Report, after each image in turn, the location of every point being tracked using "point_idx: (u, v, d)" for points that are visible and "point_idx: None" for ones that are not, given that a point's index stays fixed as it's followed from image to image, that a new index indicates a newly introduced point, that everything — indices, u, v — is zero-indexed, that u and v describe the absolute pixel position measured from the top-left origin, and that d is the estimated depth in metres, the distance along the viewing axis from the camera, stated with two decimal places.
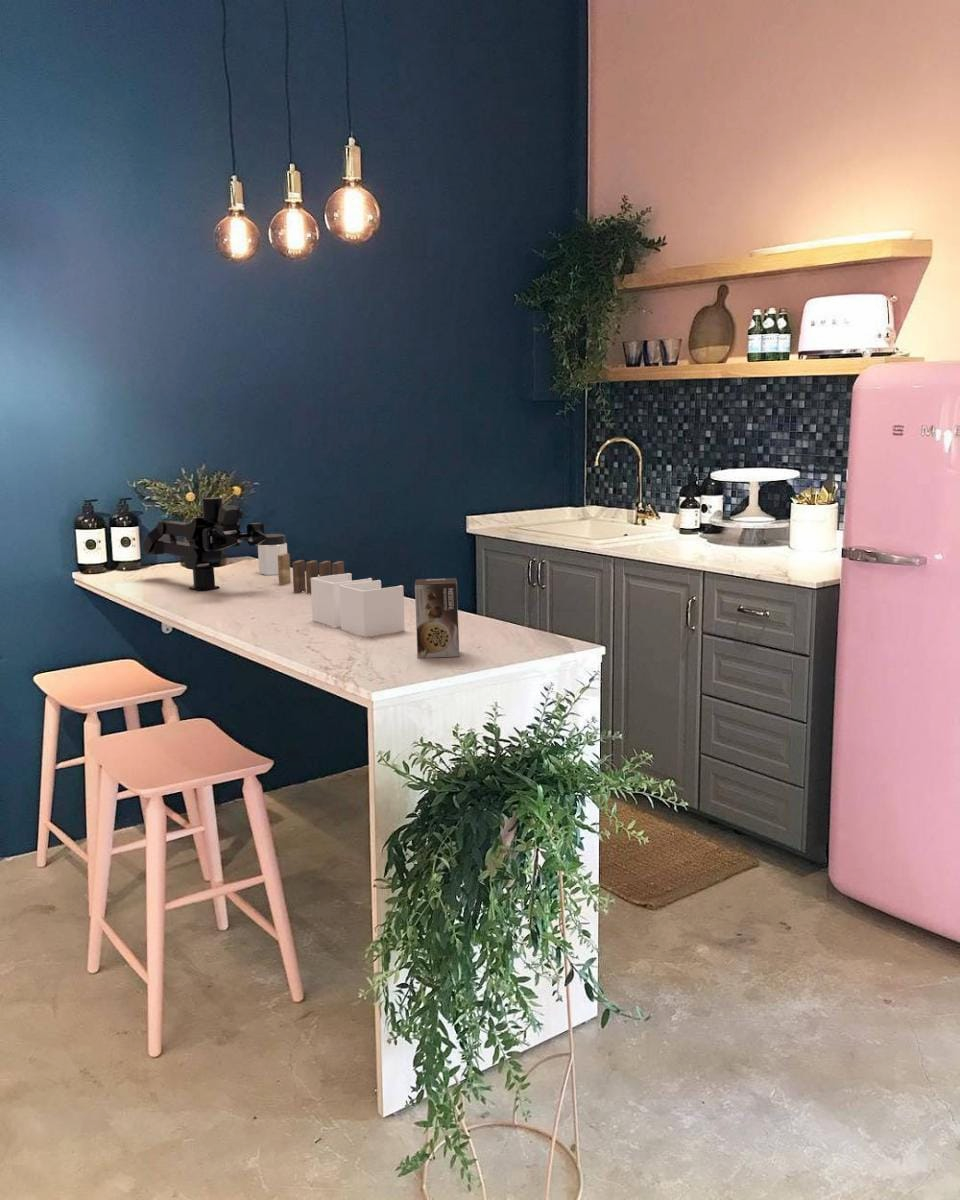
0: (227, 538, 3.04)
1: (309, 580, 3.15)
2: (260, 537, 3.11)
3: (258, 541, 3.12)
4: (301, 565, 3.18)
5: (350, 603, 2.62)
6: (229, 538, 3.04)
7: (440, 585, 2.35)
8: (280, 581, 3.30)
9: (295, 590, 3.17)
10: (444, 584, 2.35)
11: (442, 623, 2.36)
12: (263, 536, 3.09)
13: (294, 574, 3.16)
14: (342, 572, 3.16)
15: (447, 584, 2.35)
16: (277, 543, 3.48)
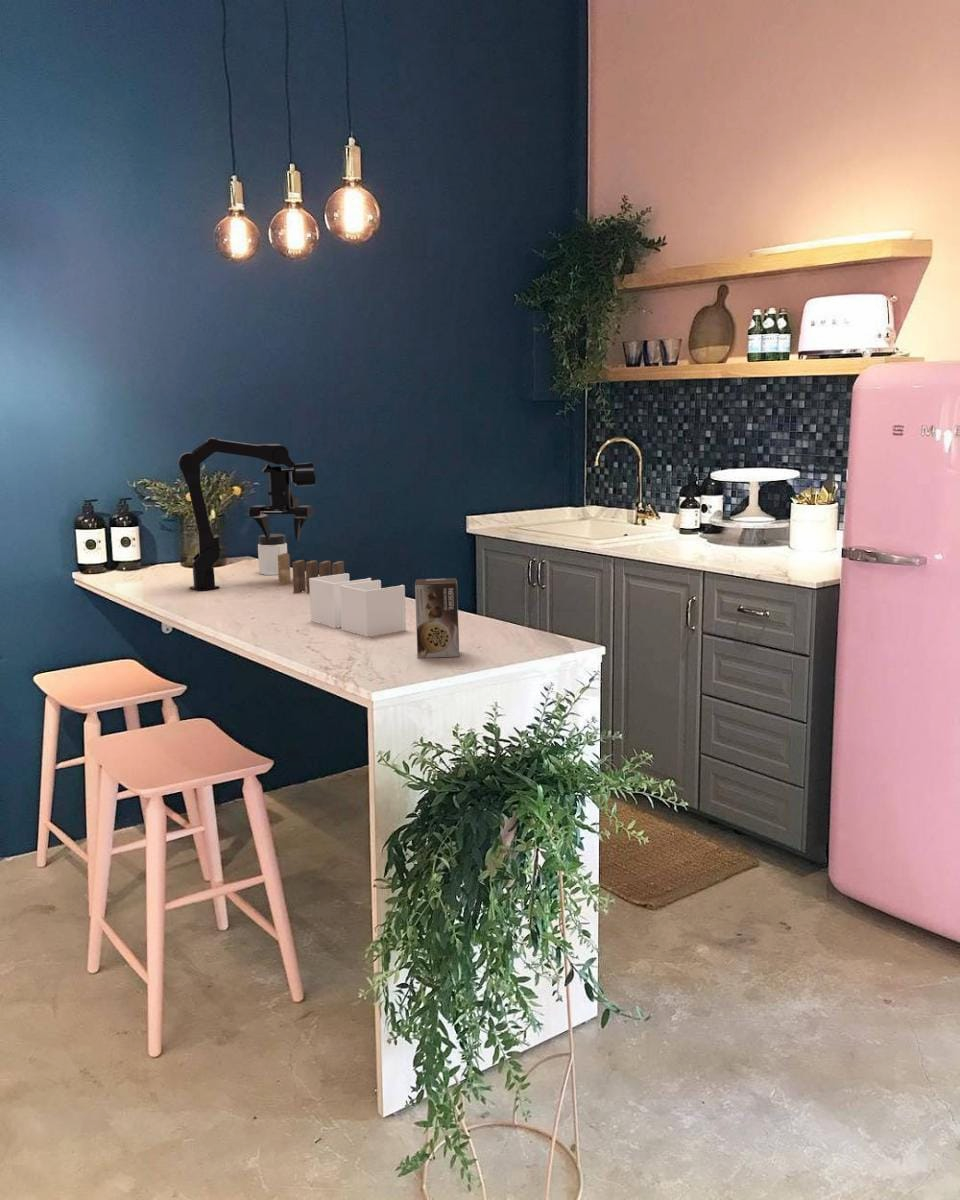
0: (300, 530, 3.29)
1: None
2: (268, 532, 3.31)
3: (265, 528, 3.29)
4: (301, 565, 3.18)
5: (352, 603, 2.62)
6: (300, 532, 3.29)
7: (440, 585, 2.35)
8: (280, 581, 3.30)
9: (295, 590, 3.17)
10: (444, 584, 2.35)
11: (442, 623, 2.36)
12: (269, 537, 3.32)
13: (294, 574, 3.16)
14: (342, 572, 3.16)
15: (447, 584, 2.35)
16: (276, 543, 3.48)
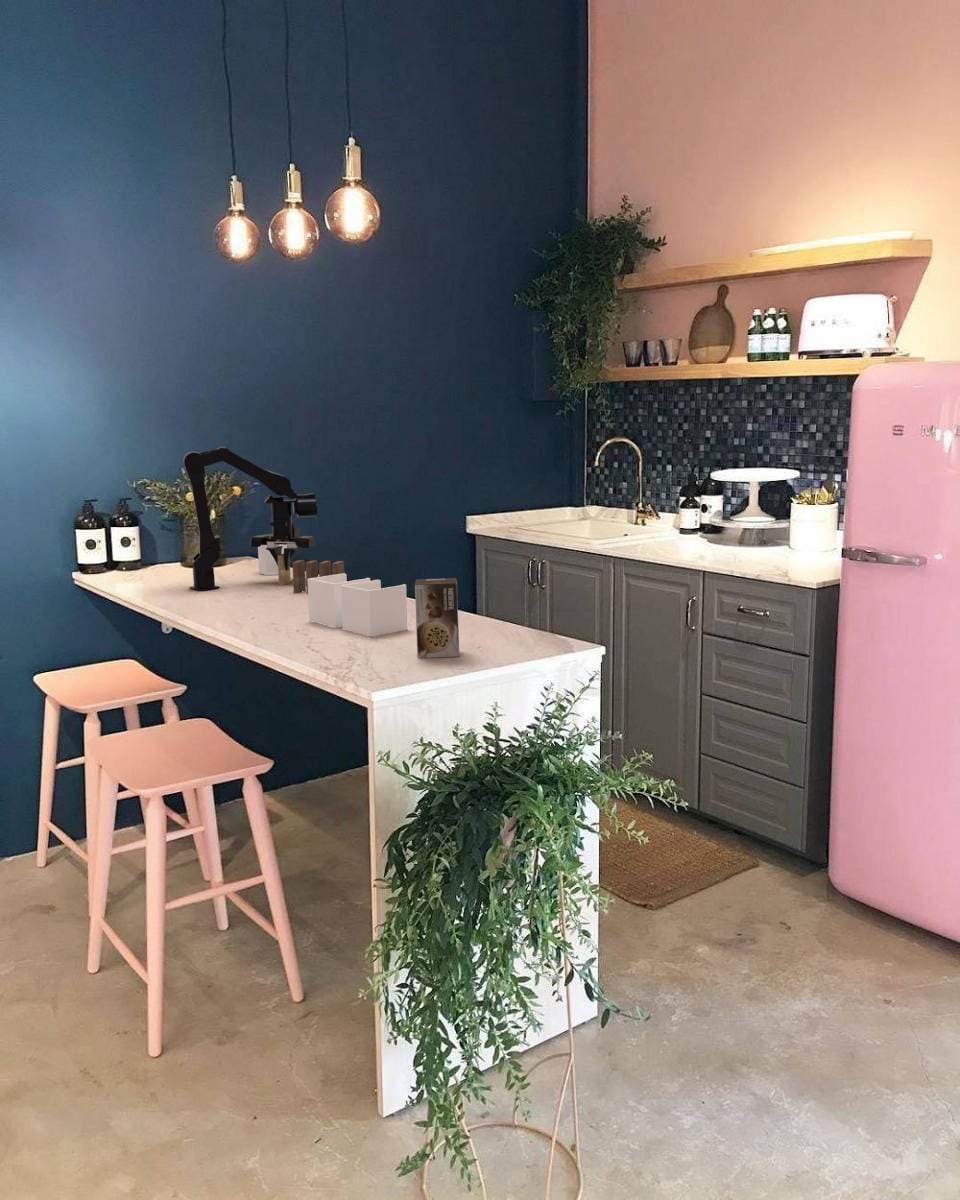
0: (290, 560, 3.32)
1: None
2: None
3: None
4: (301, 565, 3.18)
5: (354, 603, 2.62)
6: (290, 562, 3.32)
7: (440, 585, 2.35)
8: (280, 581, 3.30)
9: (295, 590, 3.17)
10: (444, 584, 2.35)
11: (442, 623, 2.36)
12: None
13: (294, 574, 3.16)
14: (342, 572, 3.16)
15: (447, 584, 2.35)
16: None
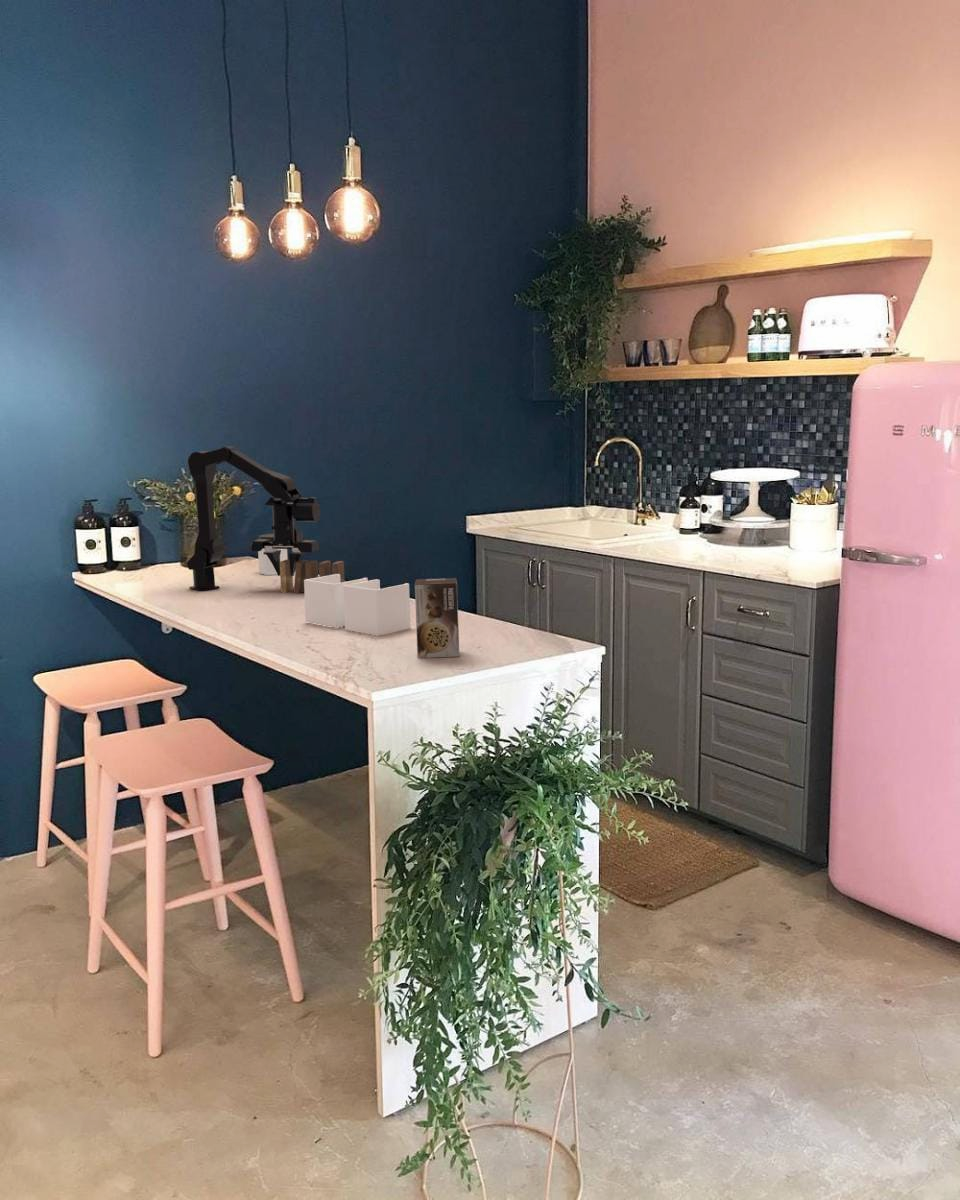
0: None
1: None
2: (279, 567, 3.19)
3: (276, 564, 3.18)
4: (304, 565, 3.17)
5: (359, 603, 2.62)
6: (295, 567, 3.18)
7: (440, 585, 2.35)
8: (282, 588, 3.18)
9: (295, 590, 3.16)
10: (444, 584, 2.35)
11: (442, 623, 2.36)
12: None
13: (296, 574, 3.15)
14: (342, 572, 3.16)
15: (447, 584, 2.35)
16: None
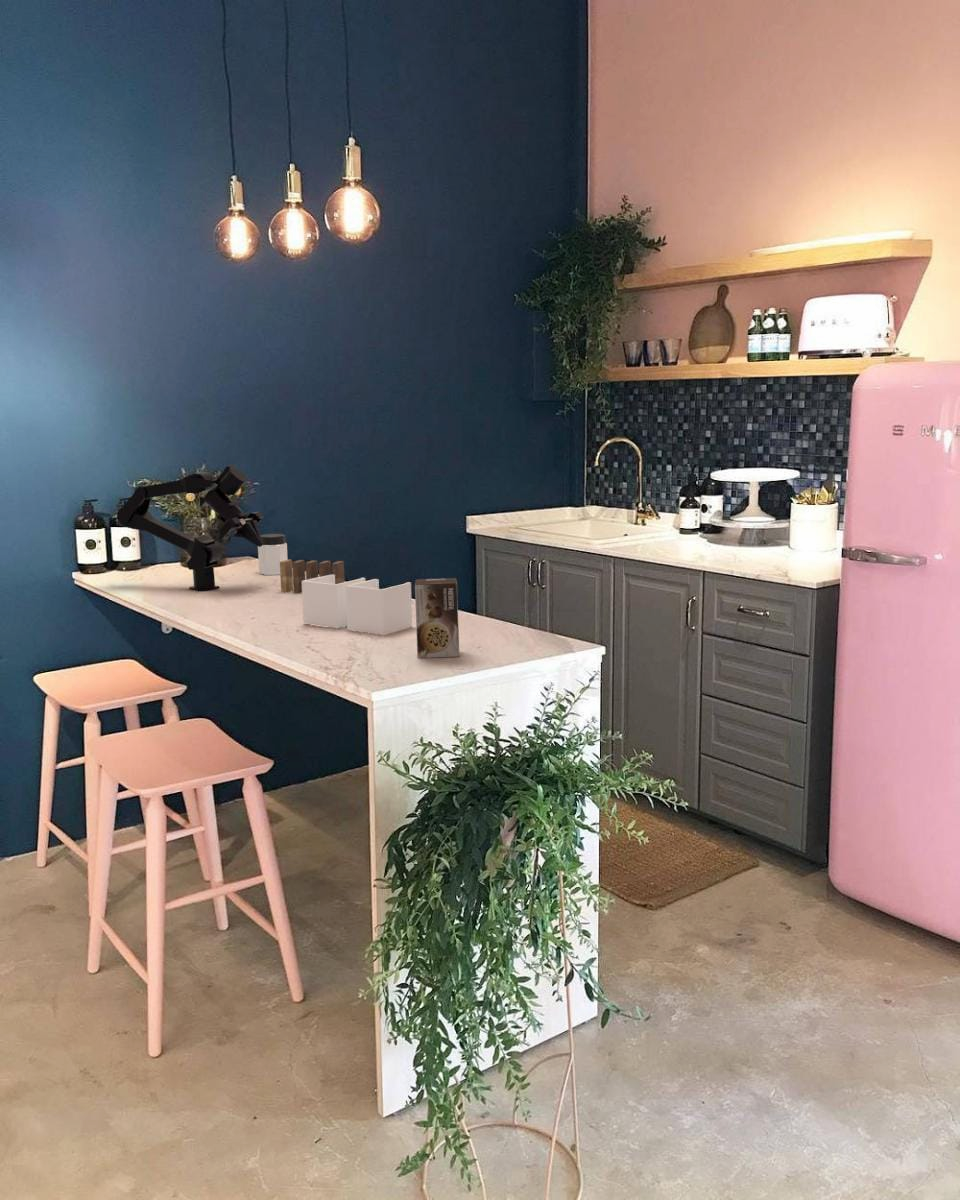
0: None
1: None
2: None
3: None
4: (301, 565, 3.18)
5: (363, 602, 2.62)
6: None
7: (440, 585, 2.35)
8: (282, 588, 3.18)
9: (295, 590, 3.17)
10: (444, 584, 2.35)
11: (442, 623, 2.36)
12: None
13: (294, 574, 3.16)
14: (342, 572, 3.16)
15: (447, 584, 2.35)
16: (277, 543, 3.48)
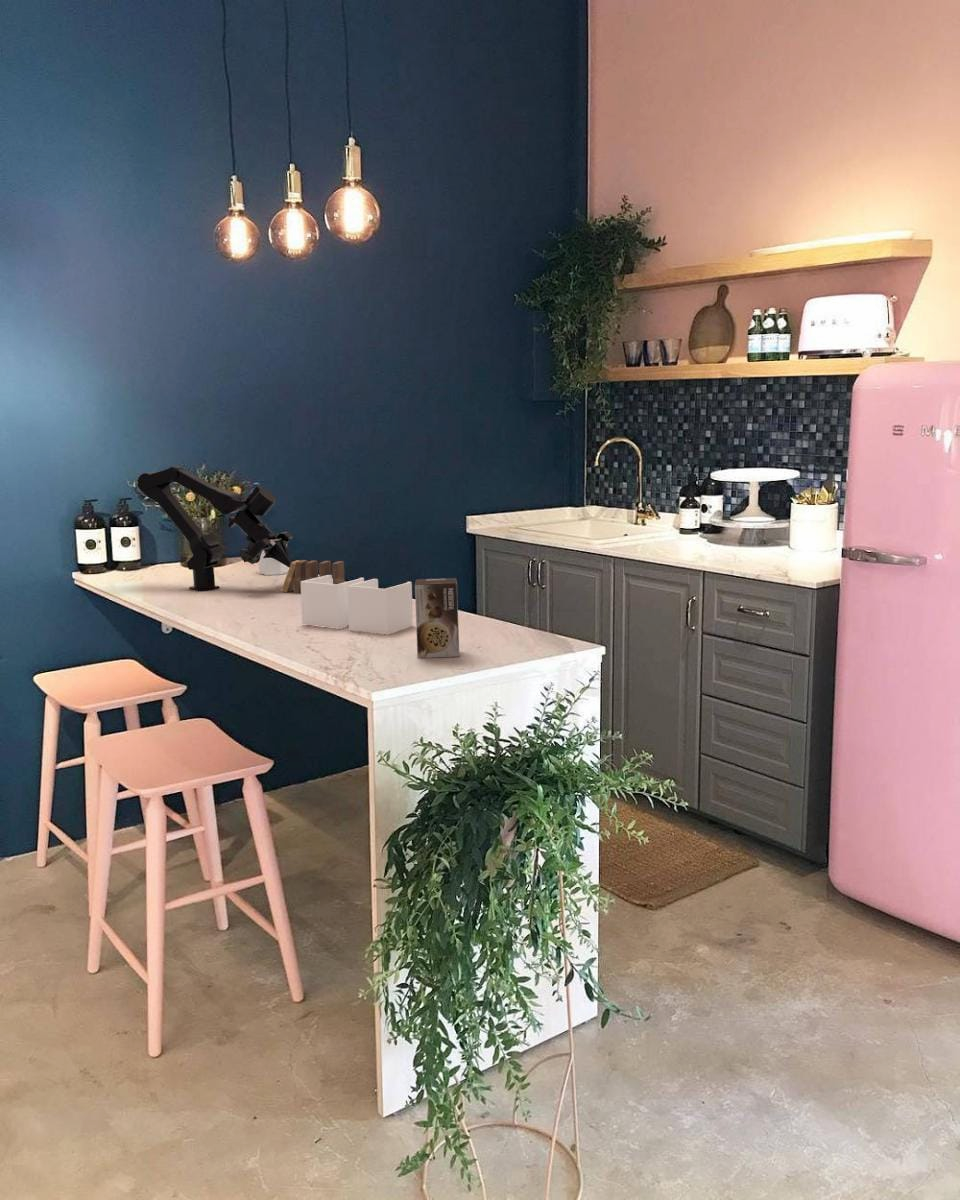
0: None
1: None
2: None
3: None
4: (304, 565, 3.17)
5: (365, 602, 2.62)
6: None
7: (440, 585, 2.35)
8: (284, 587, 3.18)
9: (295, 590, 3.16)
10: (444, 584, 2.35)
11: (442, 623, 2.36)
12: None
13: (296, 574, 3.16)
14: (342, 572, 3.16)
15: (447, 584, 2.35)
16: None
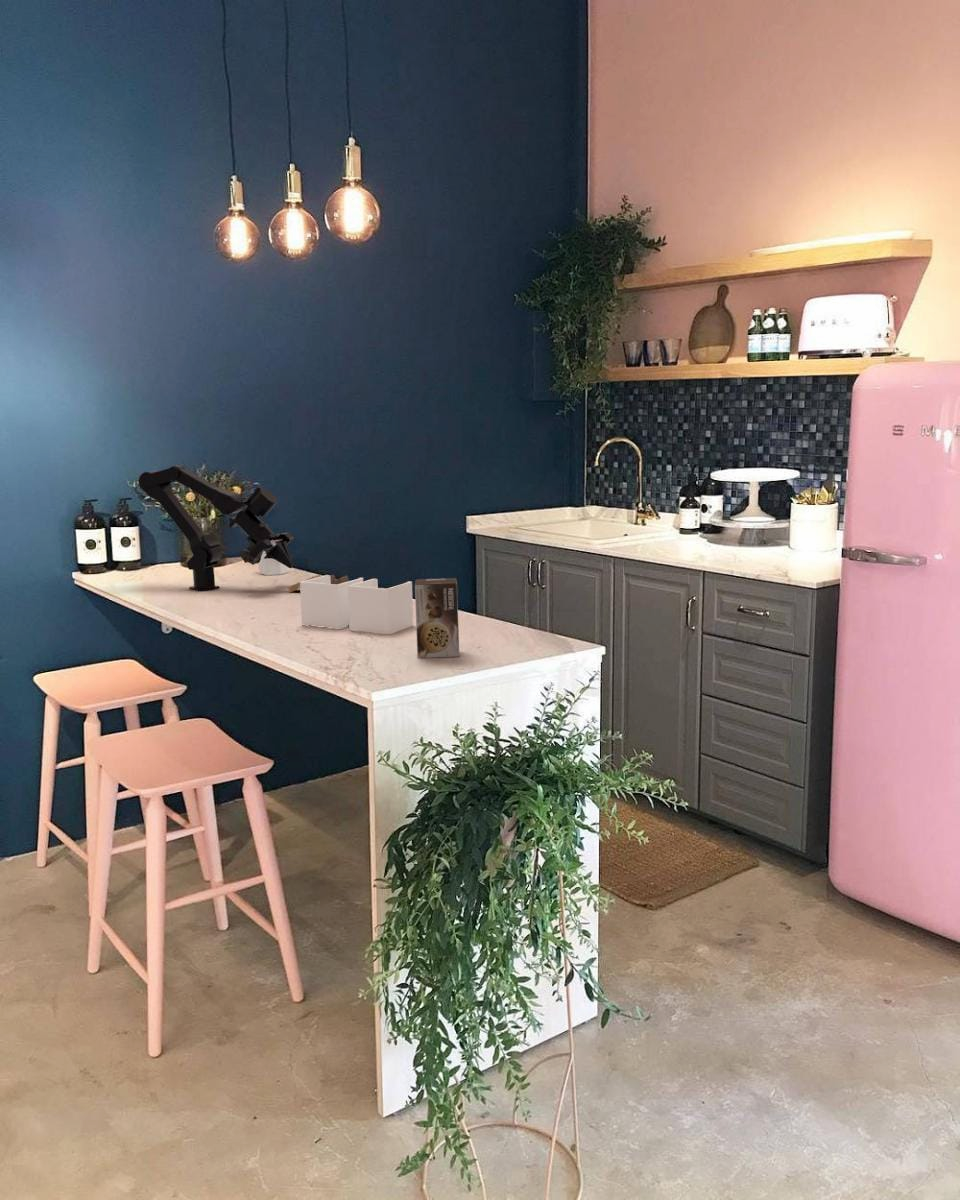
0: None
1: None
2: None
3: None
4: None
5: (366, 602, 2.63)
6: None
7: (440, 585, 2.35)
8: (291, 587, 3.17)
9: None
10: (444, 584, 2.35)
11: (442, 623, 2.36)
12: None
13: None
14: None
15: (447, 584, 2.35)
16: None
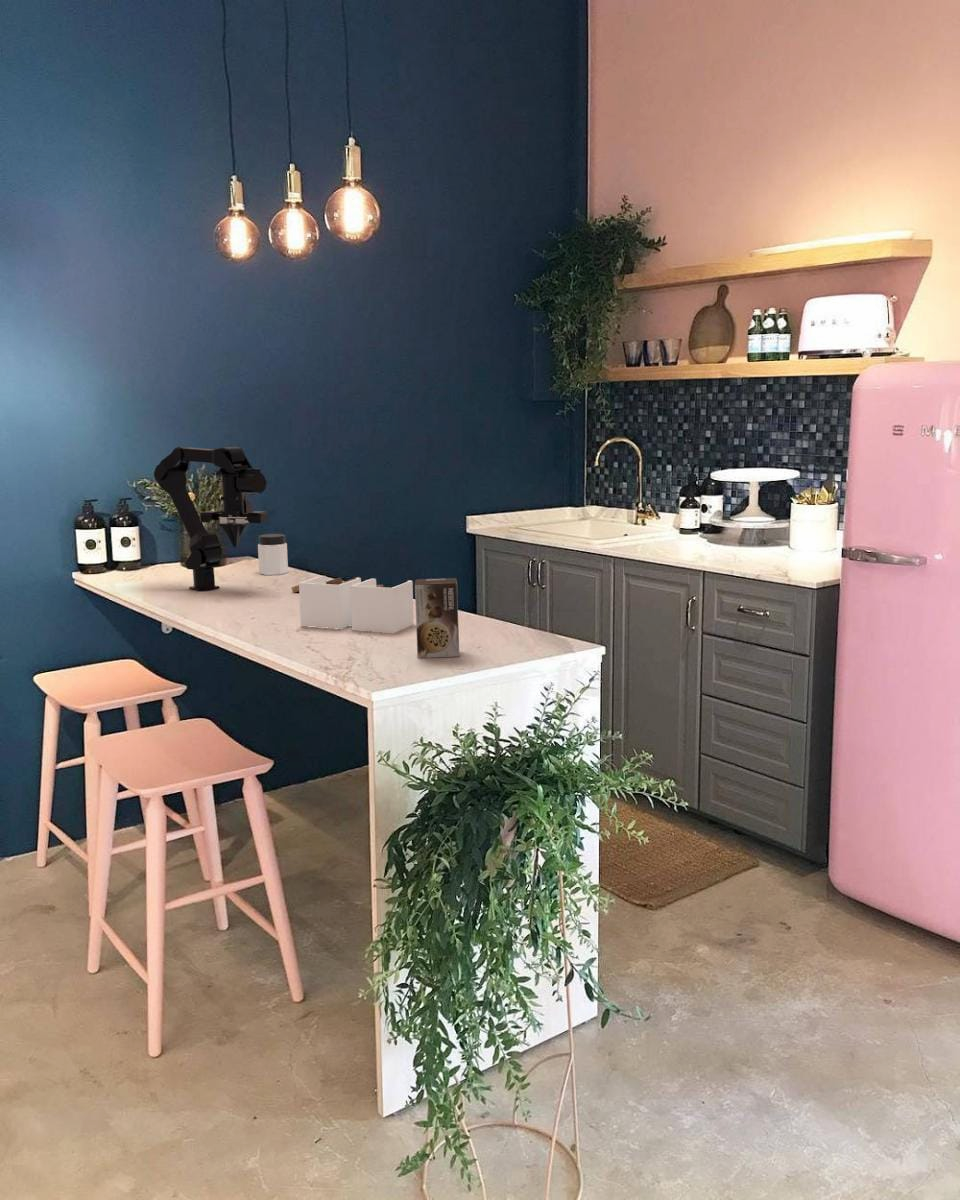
0: (240, 536, 3.17)
1: None
2: None
3: (231, 535, 3.15)
4: None
5: (370, 602, 2.63)
6: (239, 538, 3.17)
7: (440, 585, 2.35)
8: (294, 587, 3.17)
9: None
10: (444, 584, 2.35)
11: (442, 623, 2.36)
12: None
13: None
14: None
15: (447, 584, 2.35)
16: (277, 543, 3.48)
